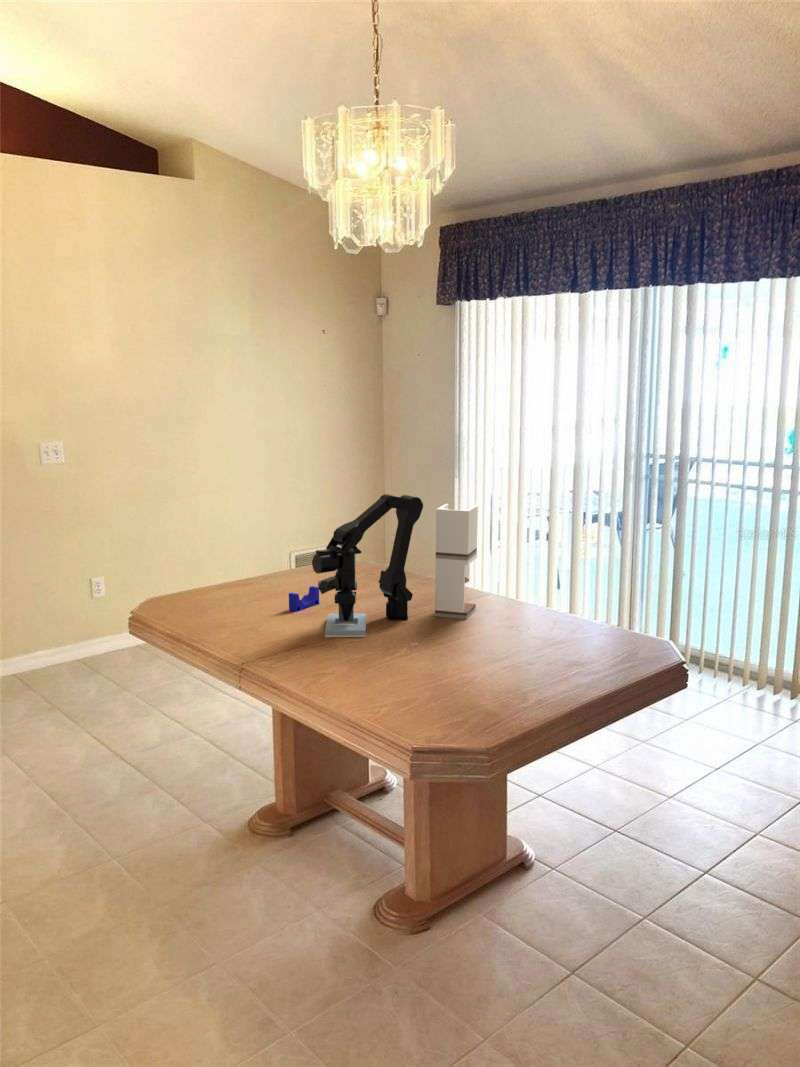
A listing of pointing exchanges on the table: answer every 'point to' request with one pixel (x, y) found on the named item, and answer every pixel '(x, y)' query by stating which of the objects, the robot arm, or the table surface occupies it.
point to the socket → (346, 626)
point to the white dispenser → (454, 560)
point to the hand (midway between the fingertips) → (346, 618)
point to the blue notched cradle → (304, 600)
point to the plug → (341, 618)
